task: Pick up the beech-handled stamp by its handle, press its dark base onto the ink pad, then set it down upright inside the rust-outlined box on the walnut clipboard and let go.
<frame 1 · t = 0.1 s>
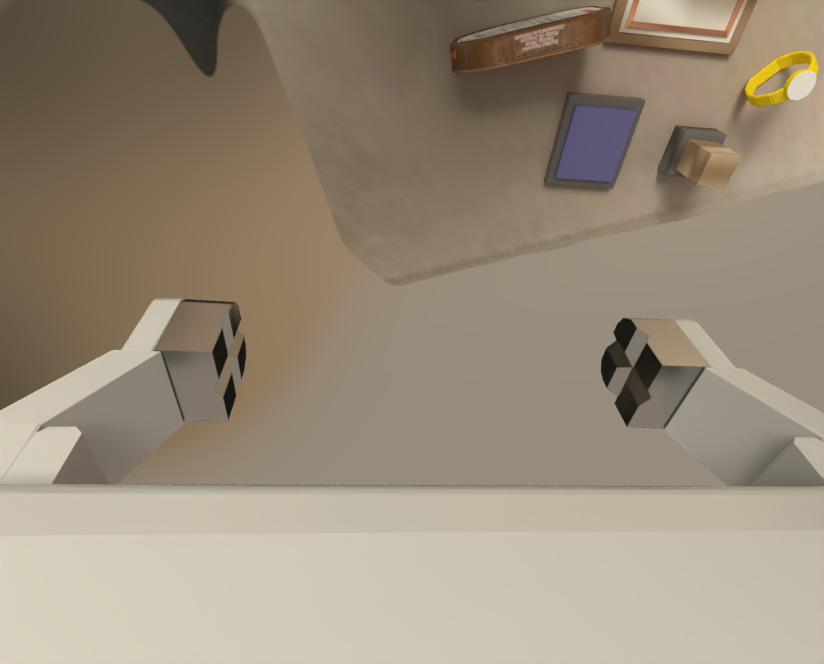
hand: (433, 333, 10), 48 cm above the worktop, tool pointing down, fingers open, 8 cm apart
ink pad: (590, 141, 55), on the worktop
stamp: (685, 148, 57), on the worktop
watch: (763, 73, 52), on the worktop
tin: (518, 32, 48), on the worktop
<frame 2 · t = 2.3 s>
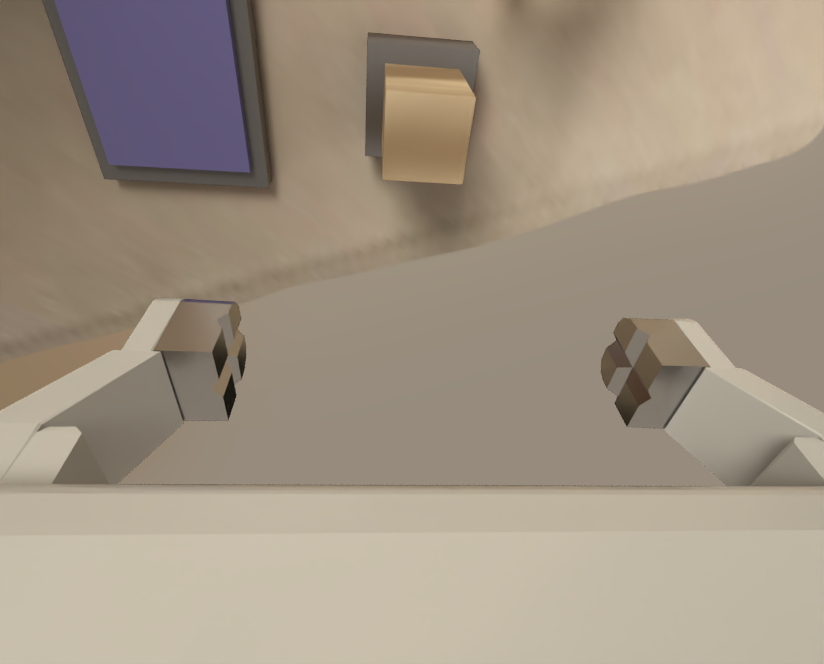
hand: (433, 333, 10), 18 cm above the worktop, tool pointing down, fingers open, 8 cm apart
ink pad: (171, 75, 23), on the worktop
stamp: (416, 93, 24), on the worktop
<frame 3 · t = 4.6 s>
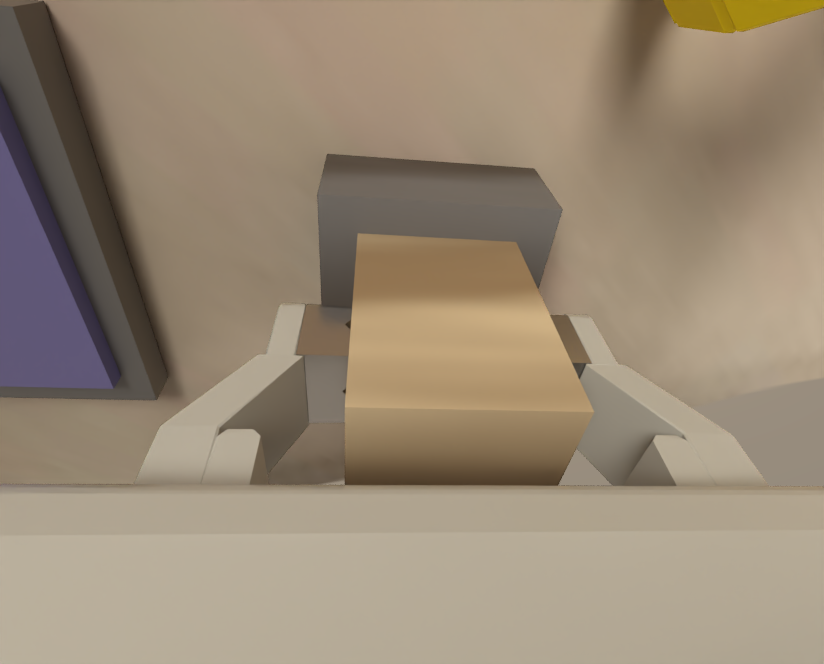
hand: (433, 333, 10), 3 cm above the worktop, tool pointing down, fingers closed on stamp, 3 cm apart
stamp: (422, 253, 13), on the worktop, touching gripper
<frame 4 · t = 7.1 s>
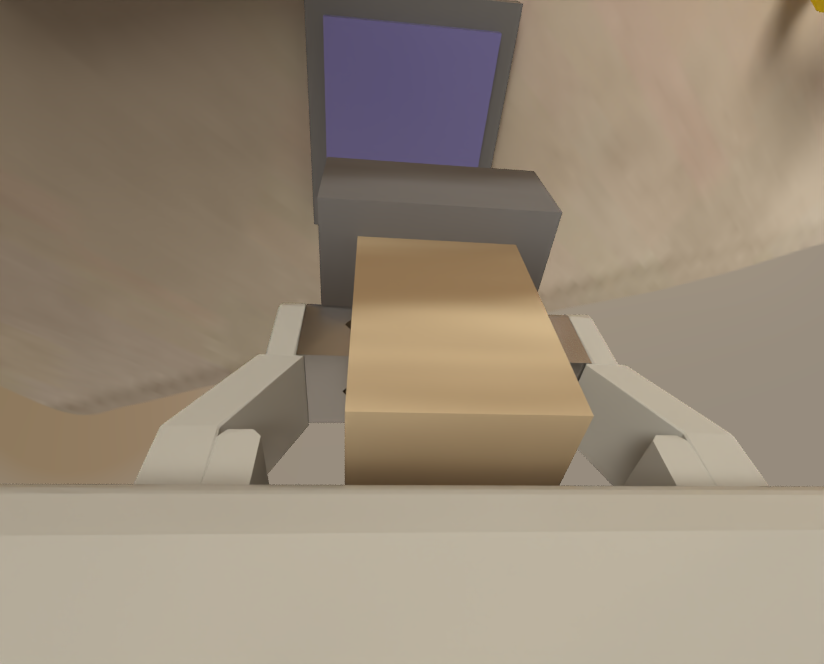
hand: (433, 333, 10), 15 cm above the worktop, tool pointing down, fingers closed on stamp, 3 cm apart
ink pad: (404, 121, 22), on the worktop
stamp: (422, 255, 13), point 12 cm above the worktop, touching gripper
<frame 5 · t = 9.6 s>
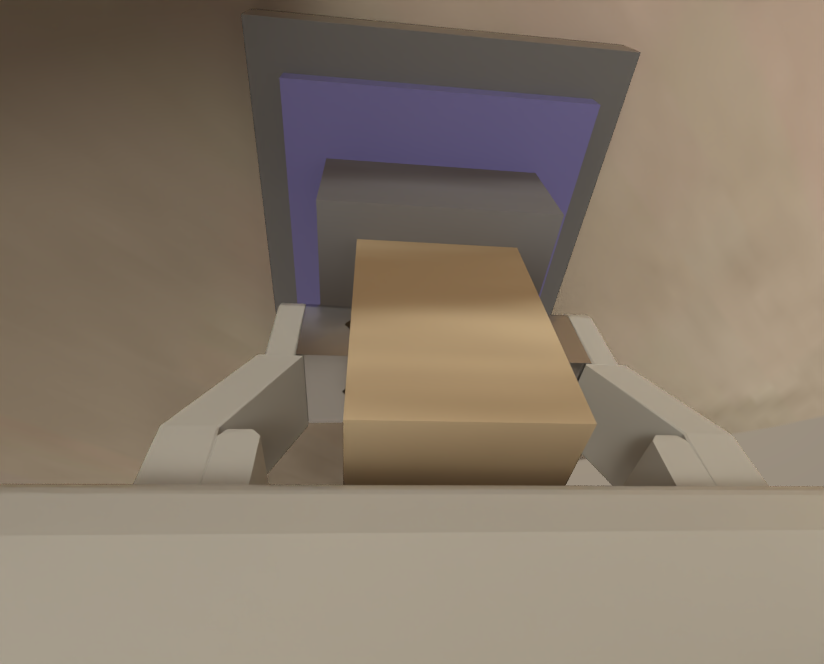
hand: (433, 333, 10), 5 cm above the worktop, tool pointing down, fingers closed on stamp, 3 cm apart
ink pad: (421, 228, 14), on the worktop
stamp: (422, 257, 13), point 1 cm above the worktop, touching gripper, ink pad
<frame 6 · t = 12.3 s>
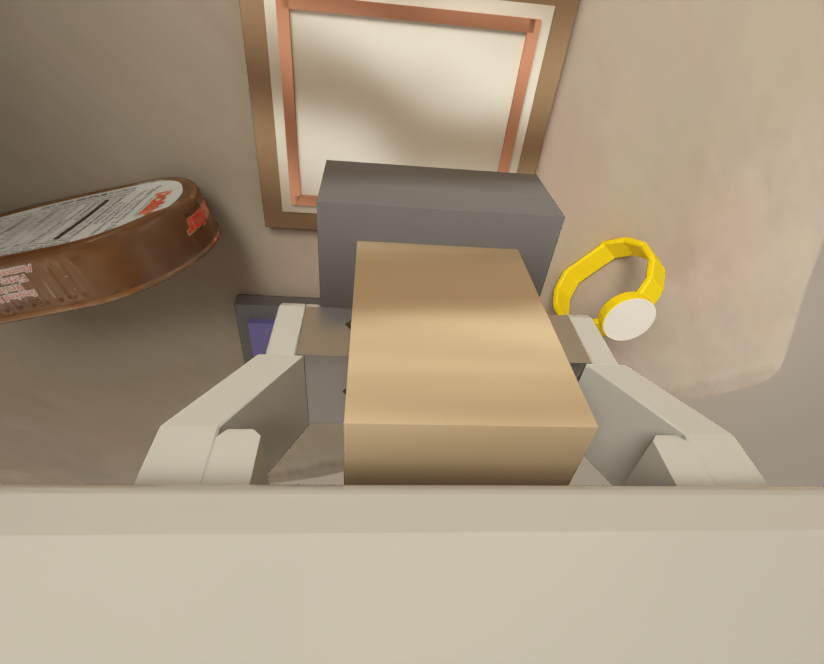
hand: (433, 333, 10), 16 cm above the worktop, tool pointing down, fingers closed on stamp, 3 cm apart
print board: (402, 116, 23), on the worktop
ink pad: (312, 357, 32), on the worktop
stamp: (422, 259, 13), point 13 cm above the worktop, touching gripper
watch: (588, 260, 29), on the worktop
tin: (96, 209, 25), on the worktop
when the fingers open (5 cm above the worktop, at t = 14.6 s): stamp stays where it is, resting on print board.
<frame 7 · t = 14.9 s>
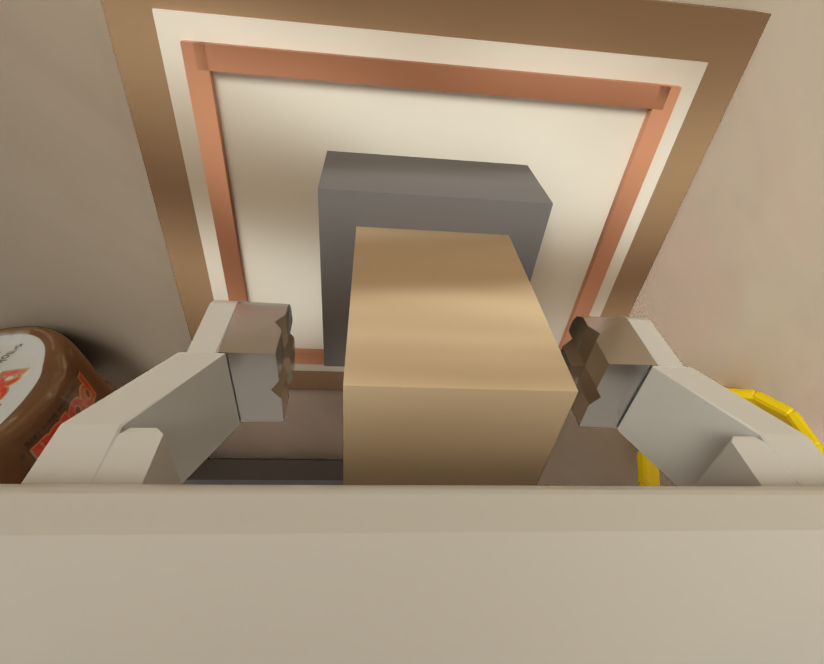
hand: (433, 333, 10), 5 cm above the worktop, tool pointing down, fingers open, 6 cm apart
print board: (420, 233, 14), on the worktop
ink pad: (287, 520, 23), on the worktop
stamp: (419, 247, 13), point 1 cm above the worktop, touching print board
watch: (686, 408, 20), on the worktop
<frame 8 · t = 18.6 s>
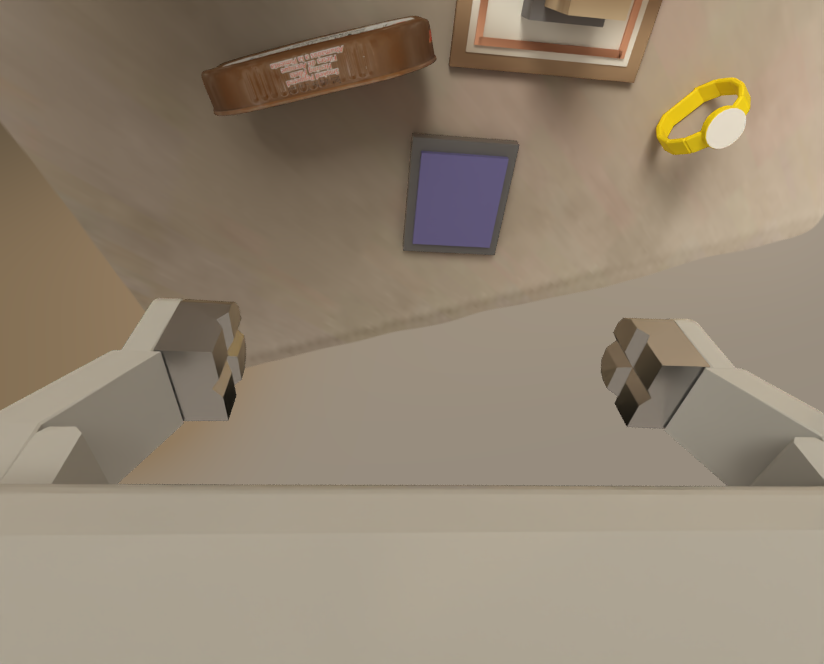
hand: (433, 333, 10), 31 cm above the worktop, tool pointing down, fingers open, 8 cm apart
ink pad: (455, 196, 41), on the worktop
watch: (681, 106, 38), on the worktop
tin: (324, 52, 34), on the worktop
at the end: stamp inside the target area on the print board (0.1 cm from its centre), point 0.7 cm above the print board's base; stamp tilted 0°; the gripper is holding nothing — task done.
